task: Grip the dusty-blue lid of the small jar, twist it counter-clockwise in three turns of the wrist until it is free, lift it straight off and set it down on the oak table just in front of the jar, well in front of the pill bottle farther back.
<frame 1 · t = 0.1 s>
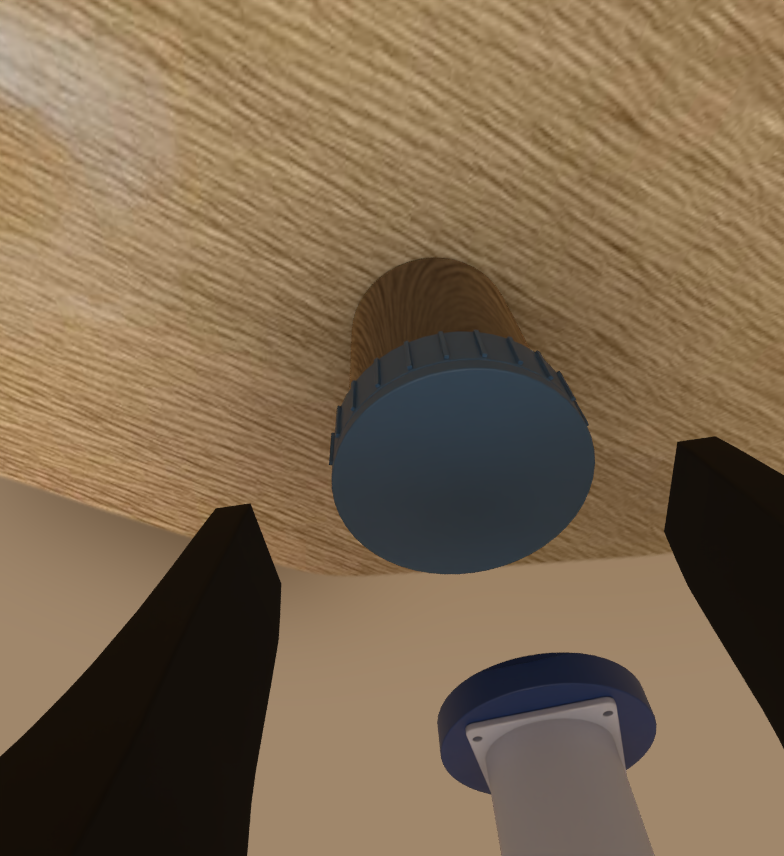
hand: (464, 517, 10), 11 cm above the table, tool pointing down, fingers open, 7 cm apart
lid: (461, 473, 14), point 8 cm above the table, screwed on, not yet turned
jar: (430, 335, 20), on the table
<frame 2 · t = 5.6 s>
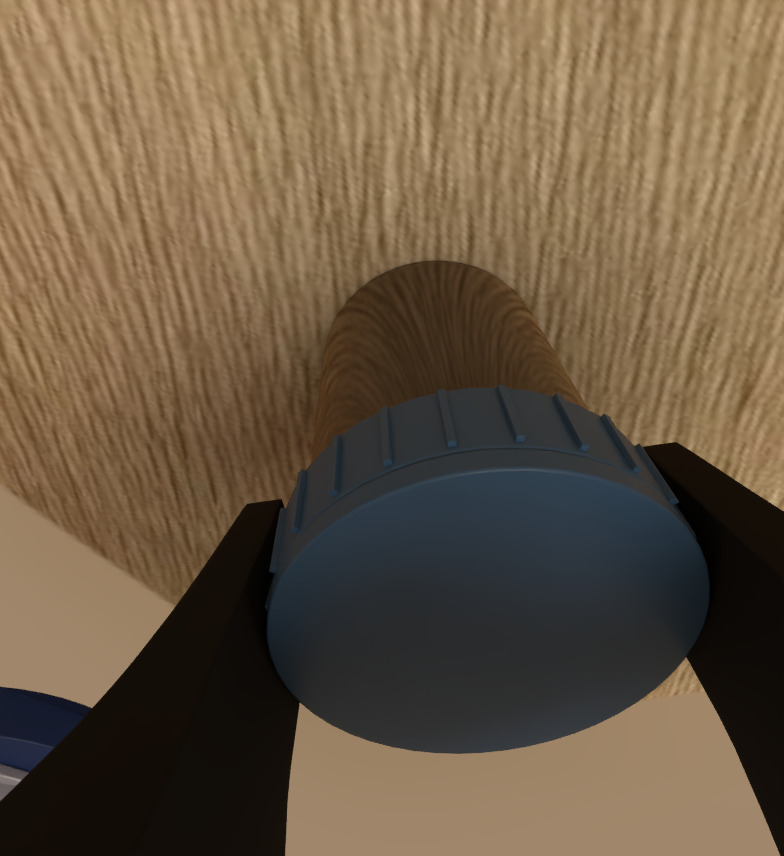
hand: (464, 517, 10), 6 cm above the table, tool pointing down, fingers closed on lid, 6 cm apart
lid: (482, 617, 8), point 8 cm above the table, screwed on, not yet turned, touching gripper
jar: (432, 366, 15), on the table
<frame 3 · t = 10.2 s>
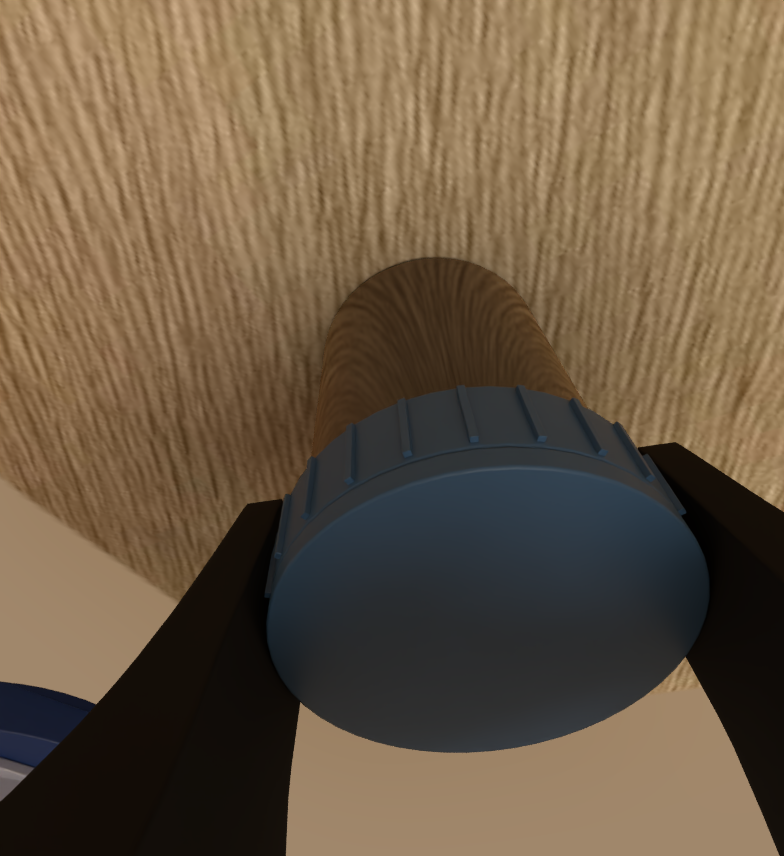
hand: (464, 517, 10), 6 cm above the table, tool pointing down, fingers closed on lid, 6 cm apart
lid: (482, 616, 8), point 8 cm above the table, turned 67° so far, risen 0.2 cm, still on its thread, touching gripper
jar: (431, 362, 15), on the table
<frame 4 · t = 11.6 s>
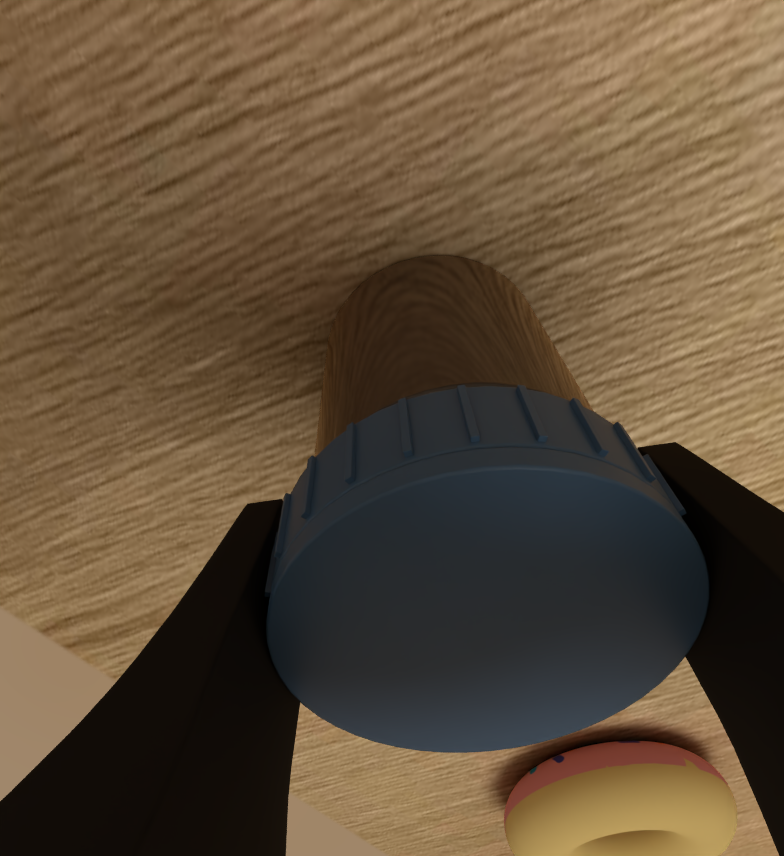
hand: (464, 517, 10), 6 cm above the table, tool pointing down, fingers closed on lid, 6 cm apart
lid: (482, 616, 8), point 8 cm above the table, off its thread, touching gripper
donut: (603, 776, 28), on the table
jar: (433, 359, 15), on the table
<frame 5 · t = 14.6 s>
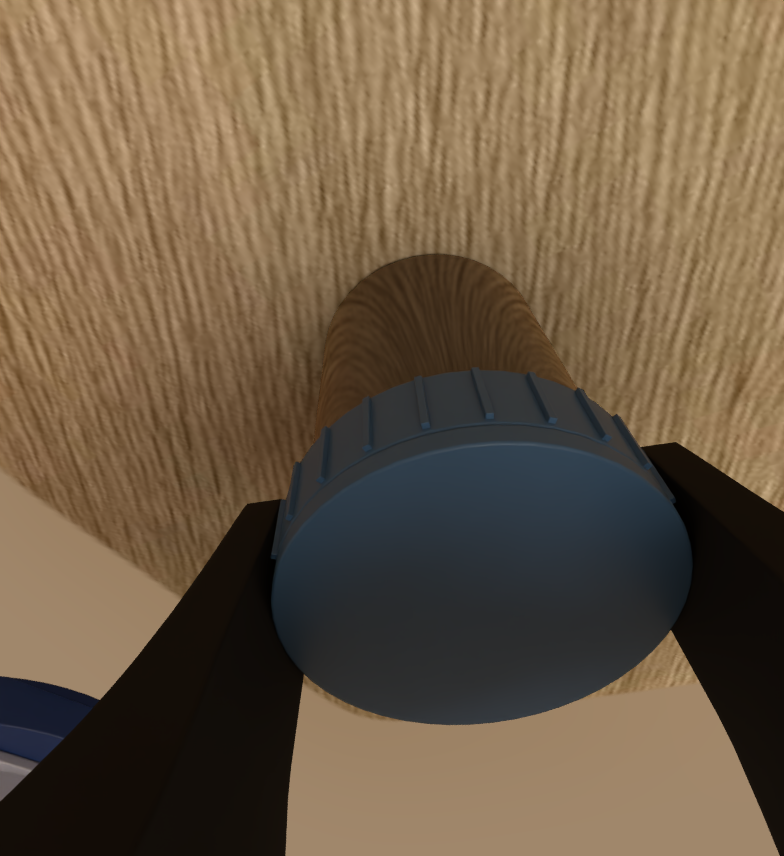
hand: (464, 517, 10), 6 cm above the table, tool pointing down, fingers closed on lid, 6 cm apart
lid: (476, 590, 9), point 7 cm above the table, off its thread, touching gripper, jar
jar: (430, 358, 15), on the table, touching lid
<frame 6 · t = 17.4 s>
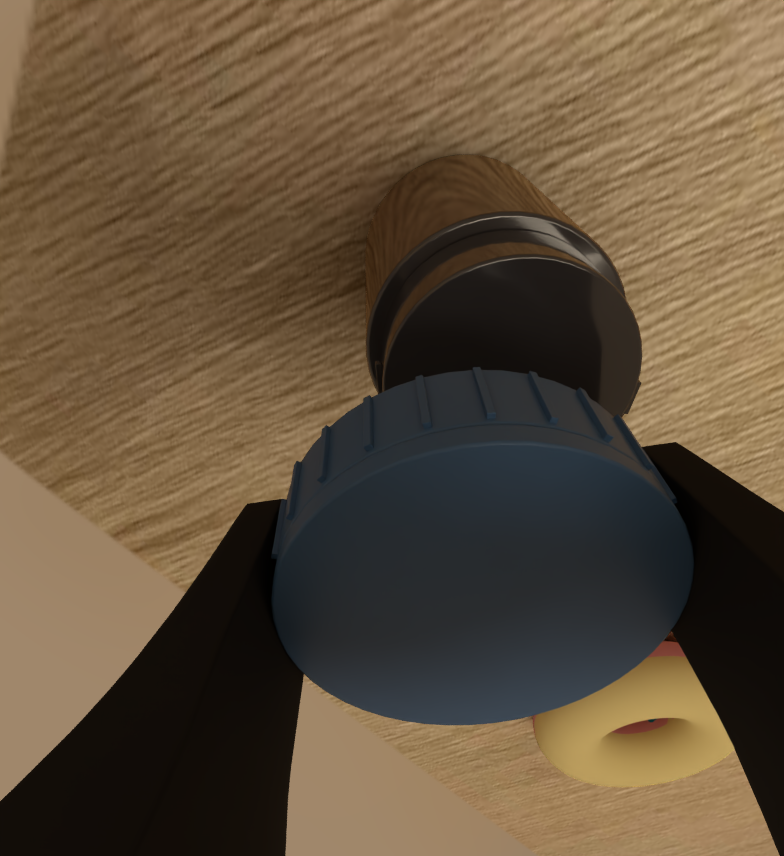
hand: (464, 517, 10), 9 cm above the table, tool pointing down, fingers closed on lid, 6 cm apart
lid: (477, 590, 9), point 11 cm above the table, off its thread, touching gripper
donut: (625, 682, 30), on the table
jar: (458, 255, 17), on the table
when the fingers open (0 cm above the table, at t = 21.0 s): lid stays where it is, point 1 cm above the table.
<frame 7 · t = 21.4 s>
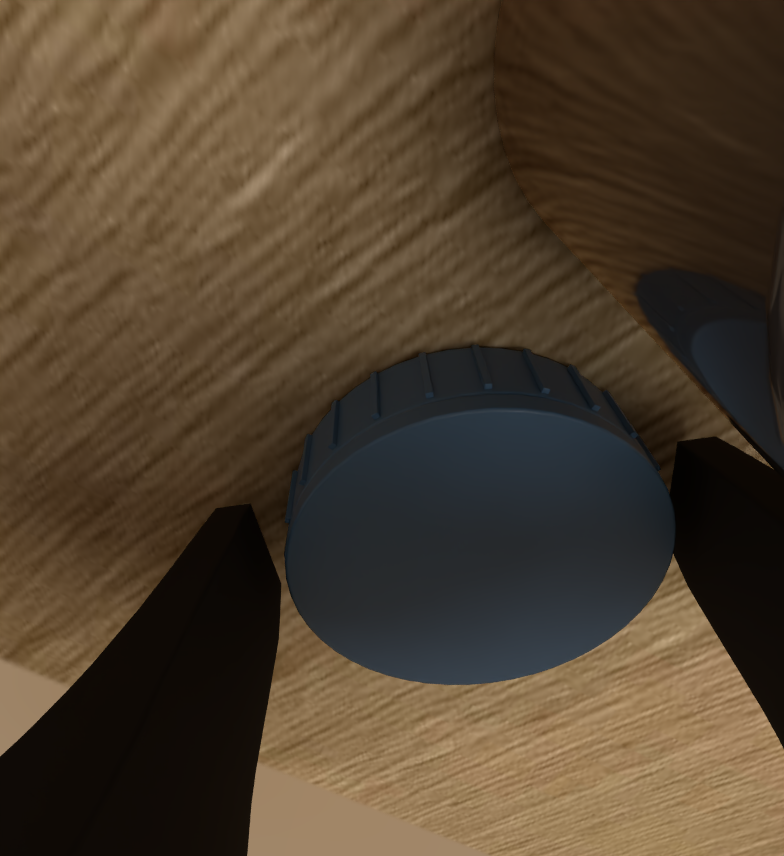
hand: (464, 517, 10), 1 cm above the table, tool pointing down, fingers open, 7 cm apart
lid: (476, 553, 10), point 1 cm above the table, off its thread
jar: (721, 46, 7), on the table
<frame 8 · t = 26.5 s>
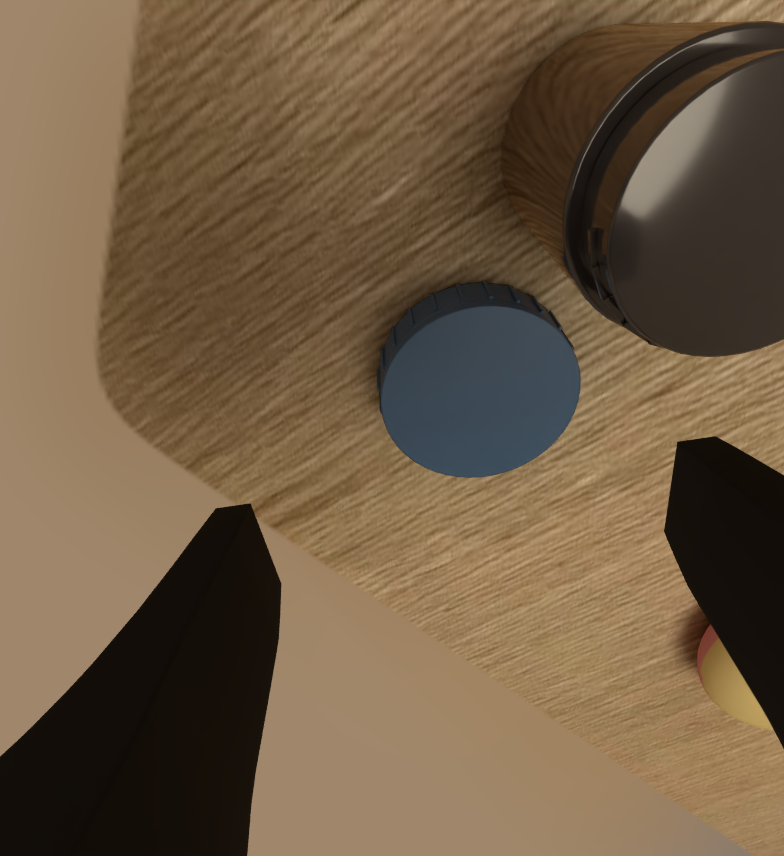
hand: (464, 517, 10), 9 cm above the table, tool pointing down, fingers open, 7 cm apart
lid: (478, 393, 18), point 1 cm above the table, off its thread
jar: (602, 147, 16), on the table
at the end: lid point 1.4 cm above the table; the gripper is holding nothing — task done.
